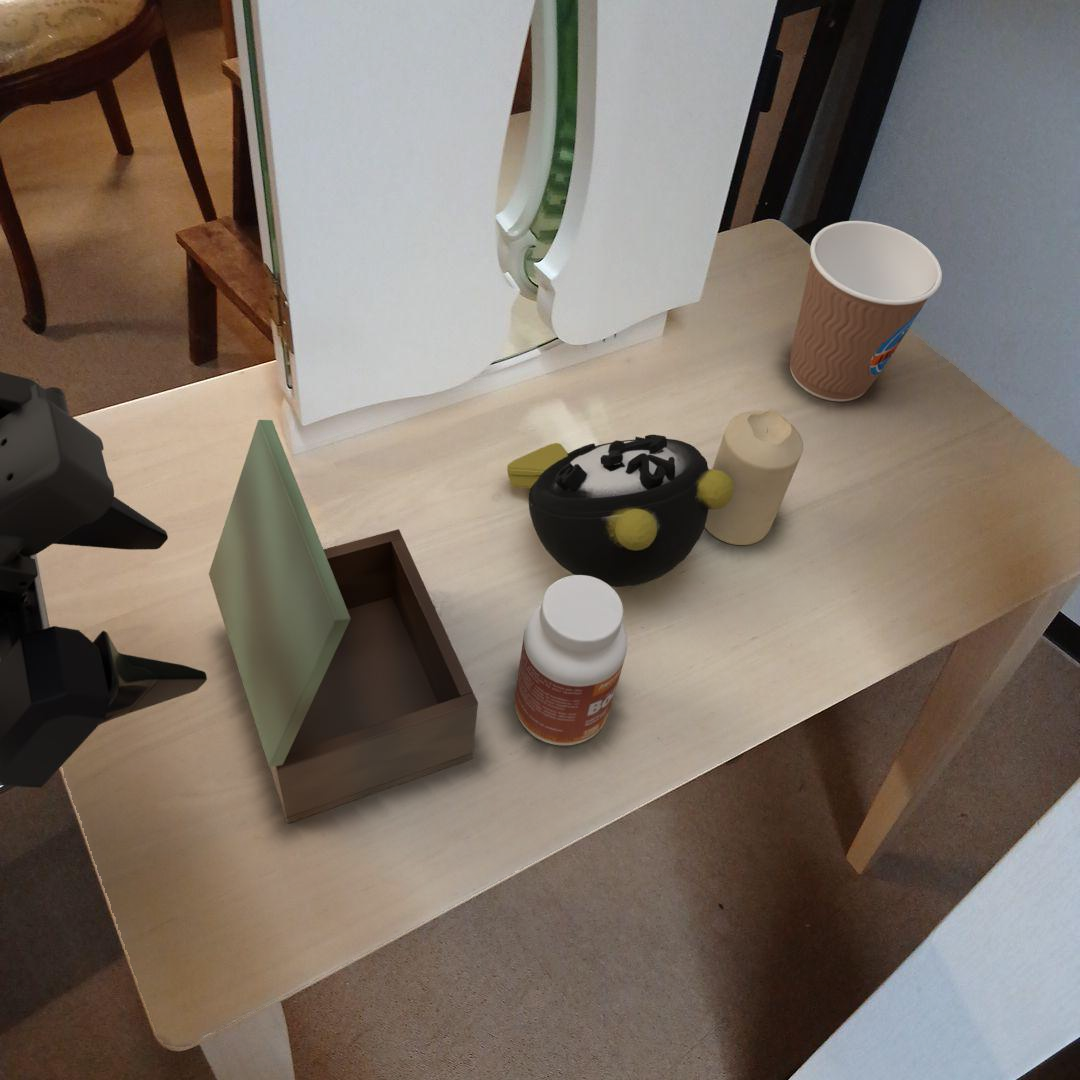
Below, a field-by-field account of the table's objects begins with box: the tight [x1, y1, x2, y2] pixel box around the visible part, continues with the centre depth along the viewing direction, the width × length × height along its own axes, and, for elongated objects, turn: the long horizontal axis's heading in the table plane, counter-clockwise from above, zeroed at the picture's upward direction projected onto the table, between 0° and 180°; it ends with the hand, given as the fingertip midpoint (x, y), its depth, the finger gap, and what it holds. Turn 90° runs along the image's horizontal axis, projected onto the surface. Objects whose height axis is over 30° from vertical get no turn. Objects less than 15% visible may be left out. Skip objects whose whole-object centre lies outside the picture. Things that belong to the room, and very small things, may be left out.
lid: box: [208, 419, 350, 768], centre depth 56 cm, size 12×14×1 cm
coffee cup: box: [789, 220, 943, 402], centre depth 87 cm, size 10×10×12 cm
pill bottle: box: [514, 574, 628, 746], centre depth 65 cm, size 6×6×11 cm
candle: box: [704, 409, 804, 546], centre depth 77 cm, size 6×6×10 cm
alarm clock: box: [506, 434, 734, 588], centre depth 74 cm, size 12×15×15 cm
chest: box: [269, 528, 479, 824], centre depth 65 cm, size 12×14×7 cm
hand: (181, 608), depth 54 cm, fingers open, 9 cm apart
